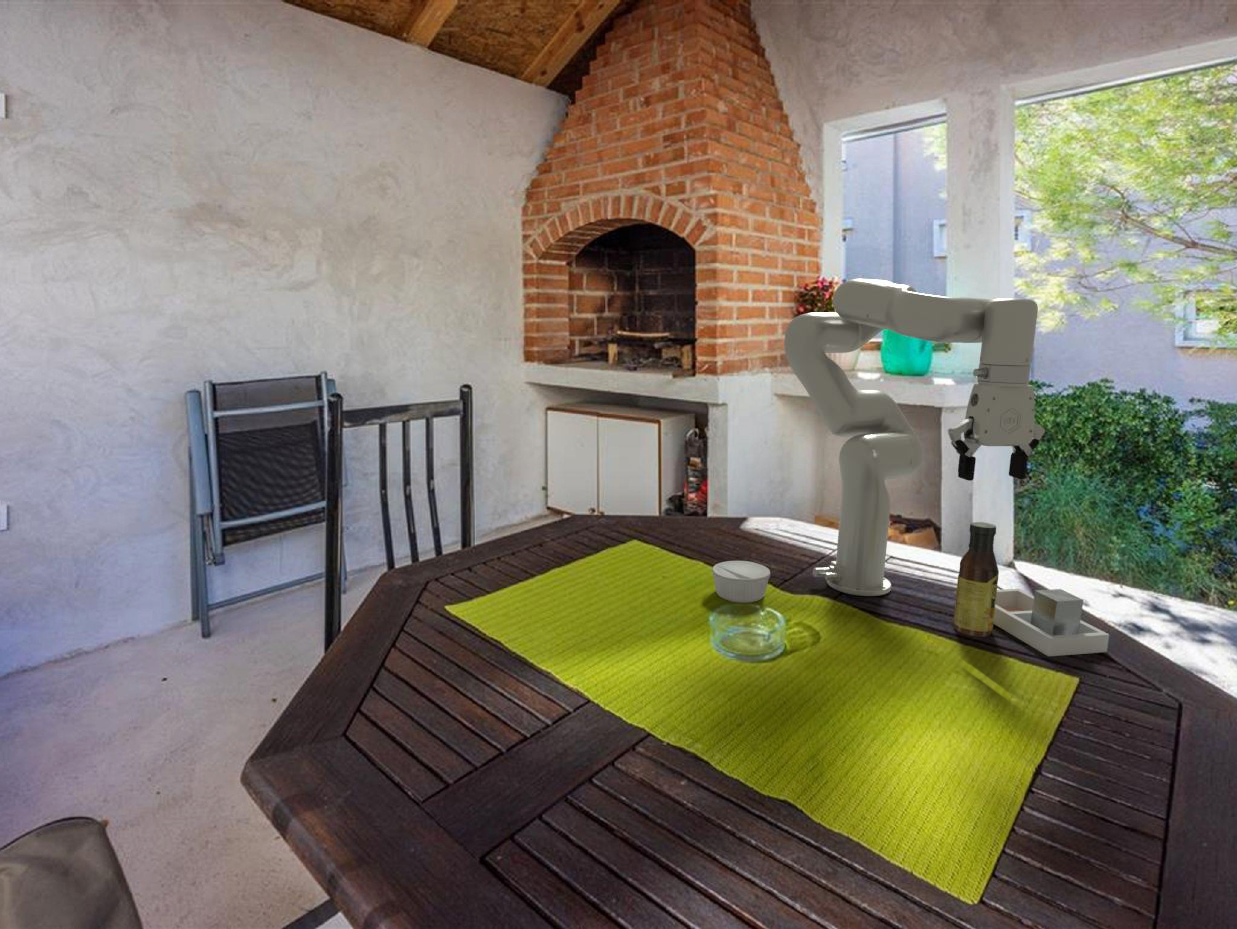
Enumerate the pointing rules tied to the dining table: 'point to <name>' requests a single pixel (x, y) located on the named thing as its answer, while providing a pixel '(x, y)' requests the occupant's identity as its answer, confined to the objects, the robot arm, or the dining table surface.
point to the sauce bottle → (977, 583)
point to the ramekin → (740, 580)
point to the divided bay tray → (1016, 620)
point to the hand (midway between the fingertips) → (991, 478)
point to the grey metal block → (1056, 612)
